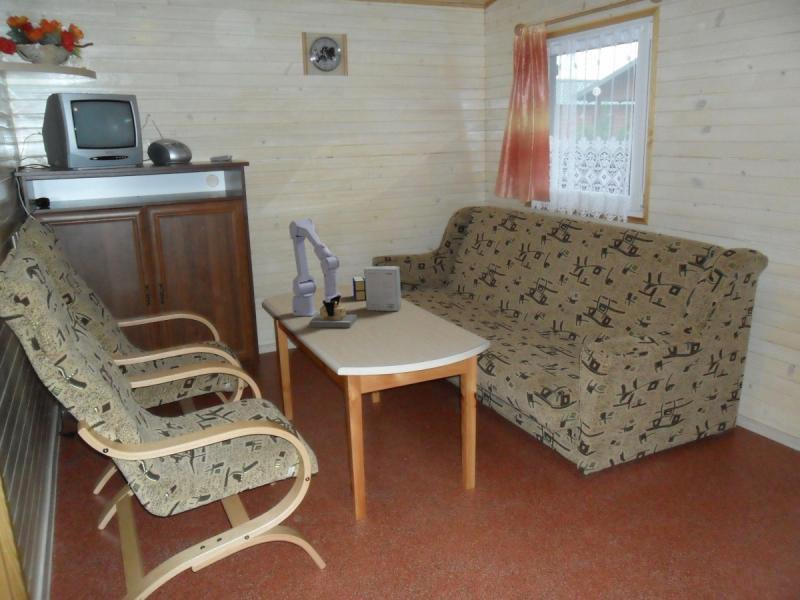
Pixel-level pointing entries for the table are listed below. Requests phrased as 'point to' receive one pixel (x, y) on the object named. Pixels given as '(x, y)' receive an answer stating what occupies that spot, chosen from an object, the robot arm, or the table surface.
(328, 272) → the robot arm
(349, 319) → the loading dock
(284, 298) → the table surface
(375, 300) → the hard drive box
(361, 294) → the puzzle cube
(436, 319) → the table surface
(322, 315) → the tan rectangular block
